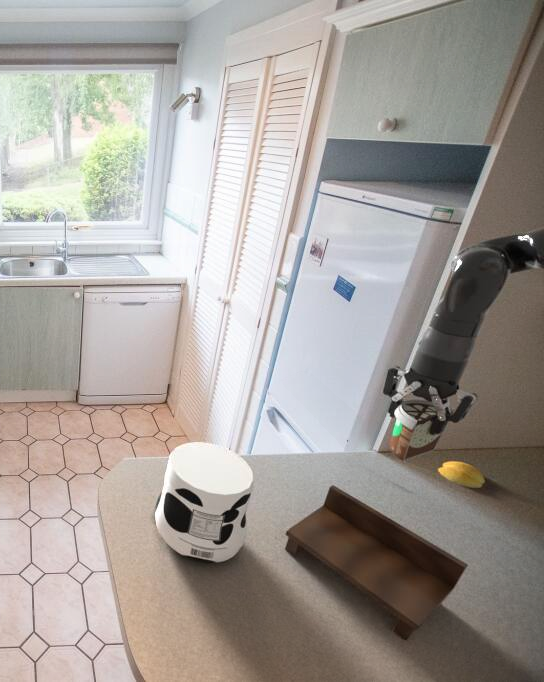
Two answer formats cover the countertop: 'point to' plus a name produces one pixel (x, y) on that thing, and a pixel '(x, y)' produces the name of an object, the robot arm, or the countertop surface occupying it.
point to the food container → (414, 429)
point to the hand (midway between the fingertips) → (412, 424)
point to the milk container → (204, 502)
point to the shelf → (378, 558)
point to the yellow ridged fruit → (462, 474)
